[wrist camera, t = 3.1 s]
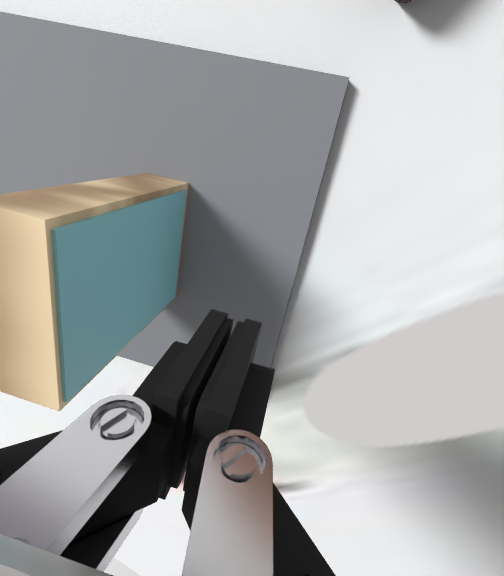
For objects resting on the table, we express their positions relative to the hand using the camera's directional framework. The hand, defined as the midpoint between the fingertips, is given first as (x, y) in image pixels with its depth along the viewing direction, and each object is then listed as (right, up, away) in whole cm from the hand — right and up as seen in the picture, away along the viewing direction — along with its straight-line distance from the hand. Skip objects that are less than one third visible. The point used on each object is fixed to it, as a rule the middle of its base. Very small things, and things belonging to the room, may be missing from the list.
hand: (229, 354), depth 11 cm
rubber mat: (-8, +6, +10) cm, 14 cm away
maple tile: (-4, +5, +9) cm, 11 cm away
